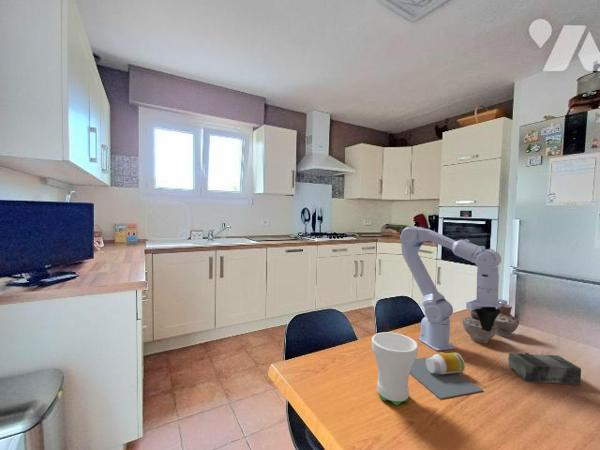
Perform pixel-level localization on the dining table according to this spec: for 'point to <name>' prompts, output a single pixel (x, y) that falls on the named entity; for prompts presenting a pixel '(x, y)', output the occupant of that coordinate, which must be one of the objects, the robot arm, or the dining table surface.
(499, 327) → the pottery
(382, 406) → the dining table surface
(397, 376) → the cup
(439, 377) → the mat
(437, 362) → the supplement bottle
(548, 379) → the stone block
